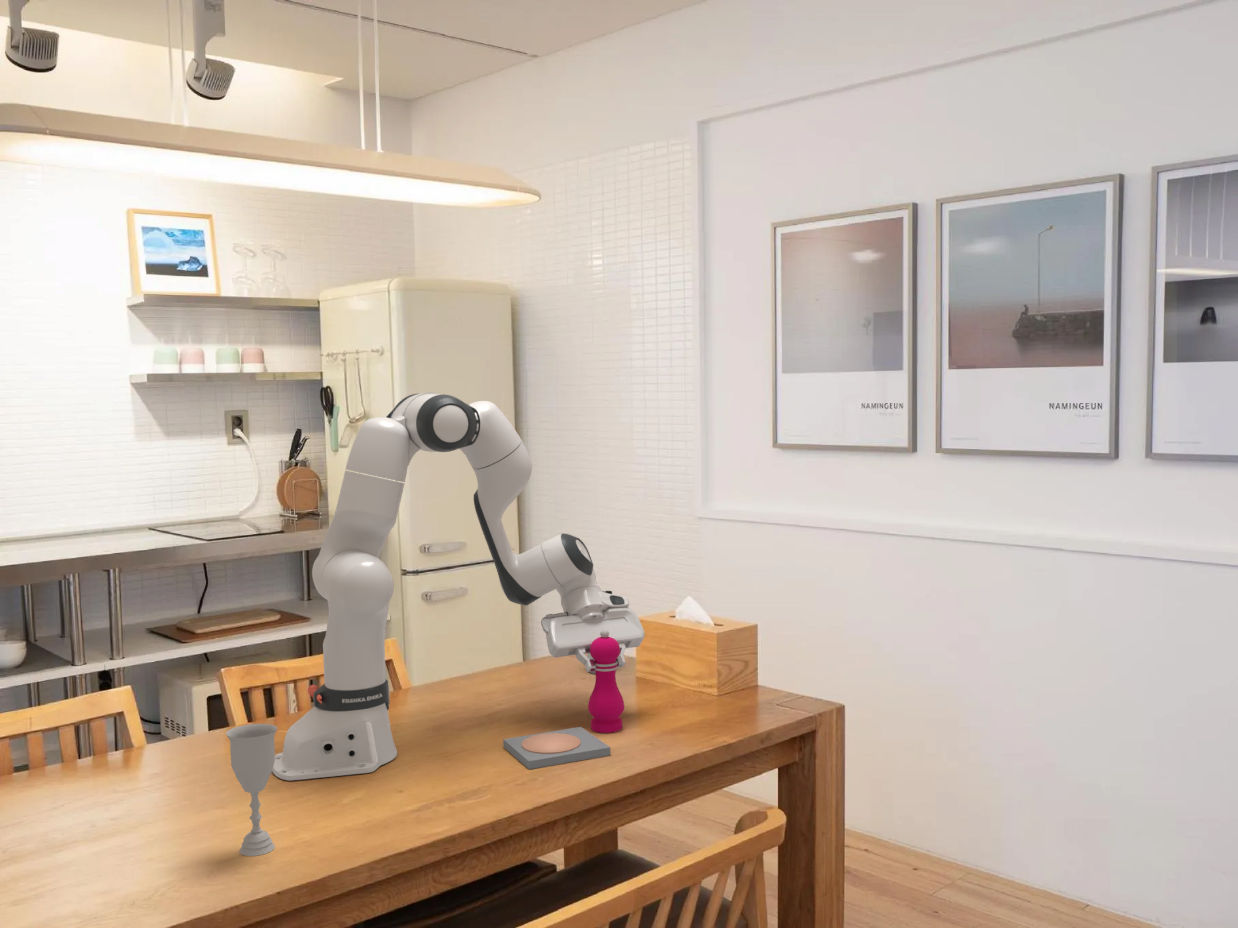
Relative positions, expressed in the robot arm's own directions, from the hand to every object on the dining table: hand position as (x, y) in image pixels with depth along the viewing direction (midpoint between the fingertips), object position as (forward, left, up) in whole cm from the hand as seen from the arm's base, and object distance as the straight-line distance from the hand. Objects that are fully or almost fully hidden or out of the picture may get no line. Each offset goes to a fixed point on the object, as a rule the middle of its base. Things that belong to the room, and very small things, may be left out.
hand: (606, 667), depth 217 cm
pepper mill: (0, +1, -13) cm, 13 cm away
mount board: (-14, -7, -12) cm, 20 cm away
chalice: (-70, -27, -13) cm, 76 cm away
